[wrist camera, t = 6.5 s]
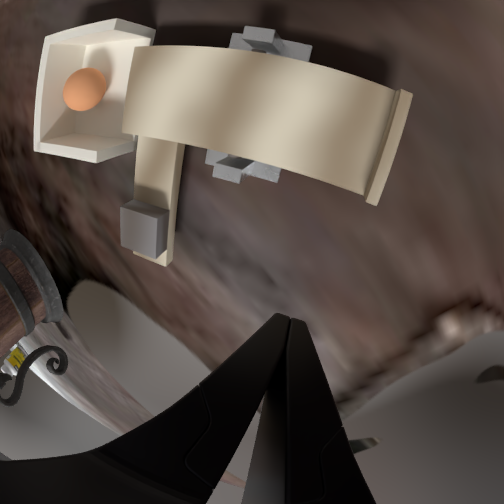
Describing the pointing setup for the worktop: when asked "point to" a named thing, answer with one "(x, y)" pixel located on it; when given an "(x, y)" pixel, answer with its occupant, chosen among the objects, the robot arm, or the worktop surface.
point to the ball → (84, 89)
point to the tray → (111, 105)
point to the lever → (249, 127)
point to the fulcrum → (272, 45)
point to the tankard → (26, 305)
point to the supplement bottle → (14, 361)
